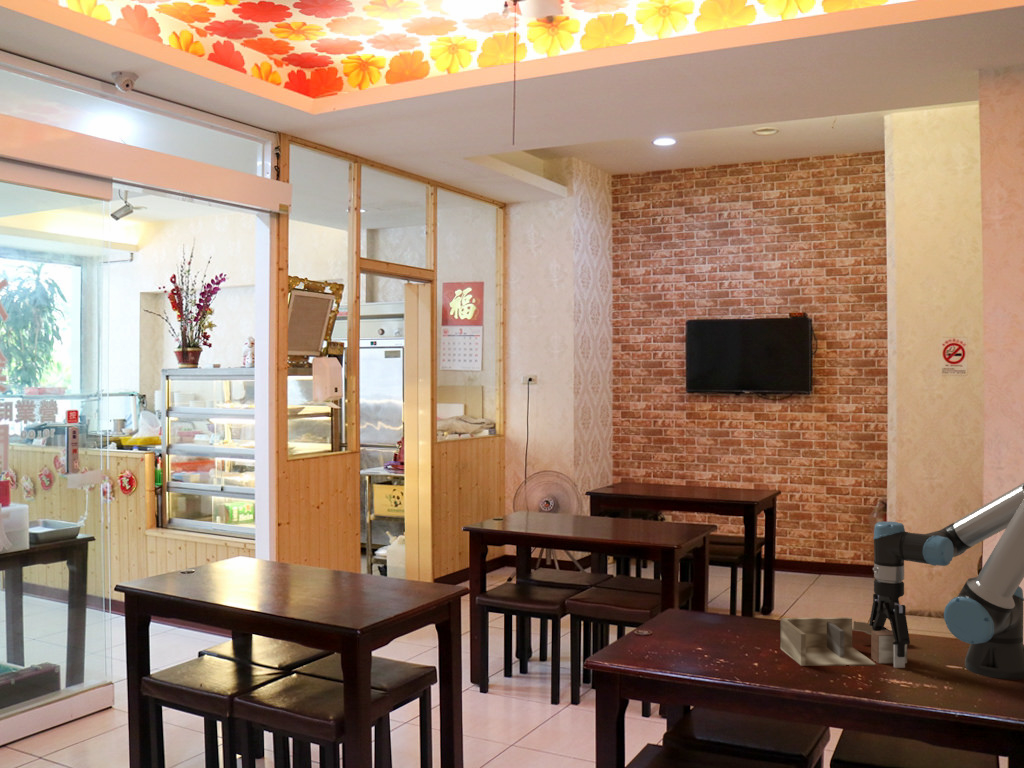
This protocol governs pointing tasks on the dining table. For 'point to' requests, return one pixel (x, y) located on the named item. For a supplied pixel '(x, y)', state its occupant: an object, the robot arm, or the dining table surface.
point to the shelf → (820, 642)
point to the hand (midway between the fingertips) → (888, 661)
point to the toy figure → (864, 627)
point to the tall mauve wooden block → (883, 646)
